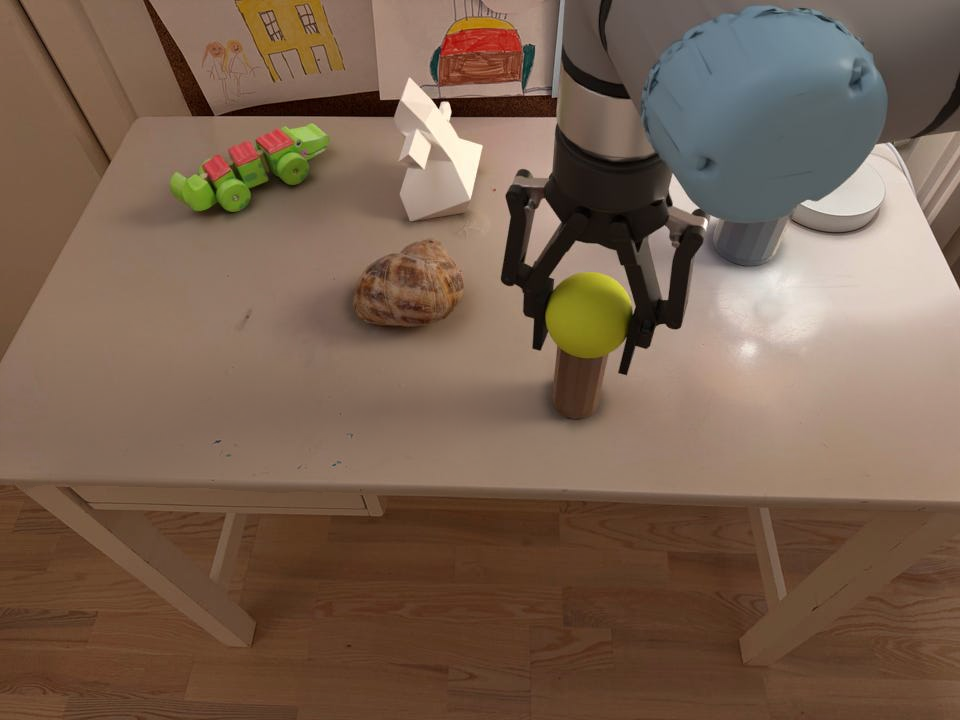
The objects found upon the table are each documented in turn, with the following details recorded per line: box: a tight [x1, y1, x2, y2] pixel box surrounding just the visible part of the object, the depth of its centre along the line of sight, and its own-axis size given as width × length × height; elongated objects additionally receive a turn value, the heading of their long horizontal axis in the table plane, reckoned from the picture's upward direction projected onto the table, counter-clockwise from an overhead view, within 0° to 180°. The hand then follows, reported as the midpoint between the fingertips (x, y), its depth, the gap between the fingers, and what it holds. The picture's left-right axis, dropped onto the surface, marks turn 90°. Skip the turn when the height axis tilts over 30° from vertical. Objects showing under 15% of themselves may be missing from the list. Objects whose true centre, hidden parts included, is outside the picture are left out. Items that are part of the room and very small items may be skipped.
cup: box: [712, 204, 799, 267], centre depth 74 cm, size 7×7×10 cm
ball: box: [545, 271, 634, 358], centre depth 57 cm, size 7×7×7 cm
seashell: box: [352, 237, 465, 328], centre depth 72 cm, size 10×9×10 cm
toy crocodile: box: [169, 122, 330, 213], centre depth 84 cm, size 20×7×6 cm, turn 126°
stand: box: [551, 344, 609, 420], centre depth 63 cm, size 4×4×10 cm
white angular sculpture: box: [393, 76, 484, 222], centre depth 79 cm, size 8×14×14 cm, turn 171°
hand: (583, 349), depth 61 cm, fingers closed on ball, 7 cm apart
